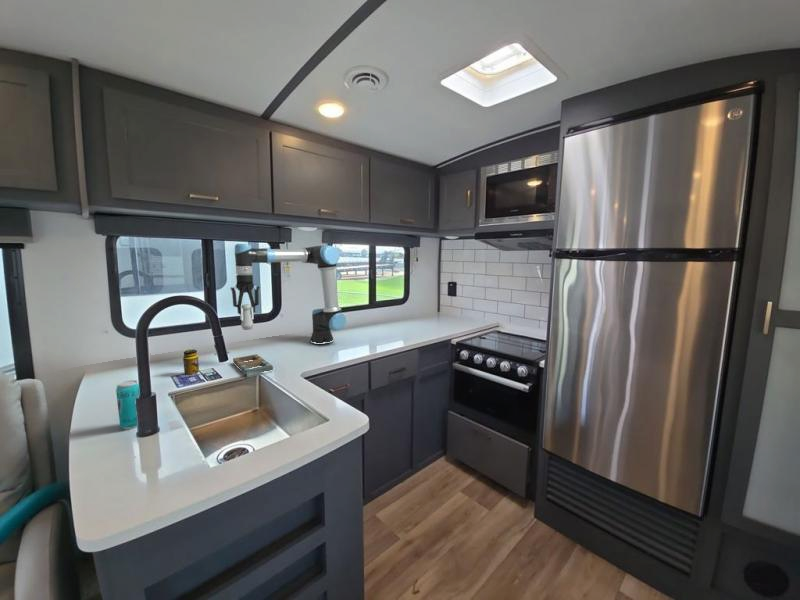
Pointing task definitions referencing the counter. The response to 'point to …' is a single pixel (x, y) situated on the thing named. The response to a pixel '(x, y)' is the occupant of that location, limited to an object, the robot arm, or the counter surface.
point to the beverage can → (127, 403)
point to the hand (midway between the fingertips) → (247, 319)
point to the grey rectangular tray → (252, 365)
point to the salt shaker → (247, 317)
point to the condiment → (190, 362)
